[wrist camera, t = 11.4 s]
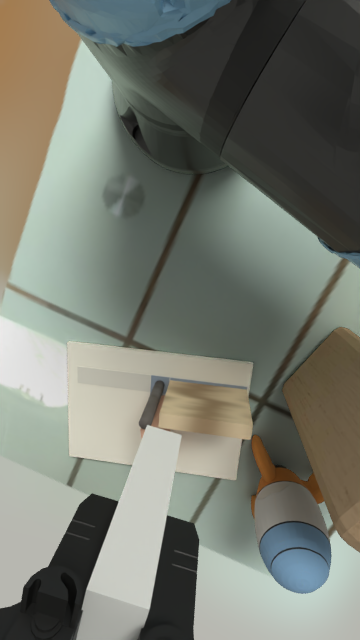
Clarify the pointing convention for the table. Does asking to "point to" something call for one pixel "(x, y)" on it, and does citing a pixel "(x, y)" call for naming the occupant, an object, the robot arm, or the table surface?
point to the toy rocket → (290, 525)
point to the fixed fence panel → (200, 409)
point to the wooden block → (332, 425)
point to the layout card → (143, 404)
